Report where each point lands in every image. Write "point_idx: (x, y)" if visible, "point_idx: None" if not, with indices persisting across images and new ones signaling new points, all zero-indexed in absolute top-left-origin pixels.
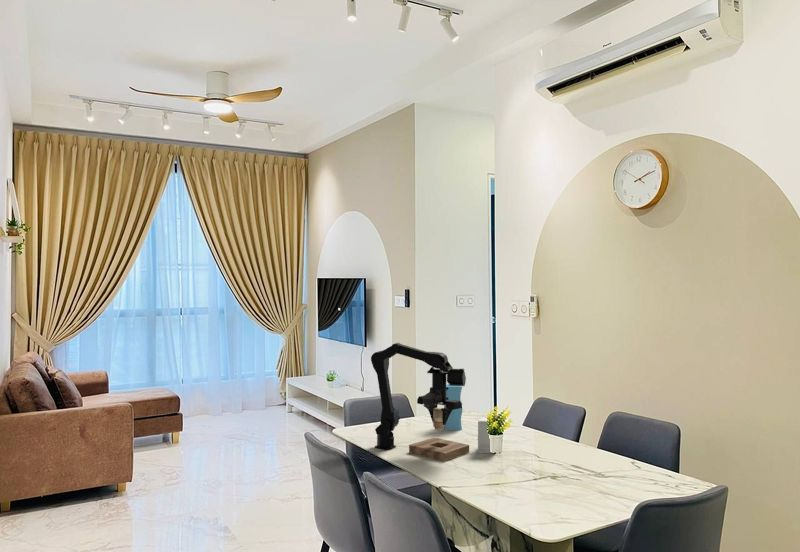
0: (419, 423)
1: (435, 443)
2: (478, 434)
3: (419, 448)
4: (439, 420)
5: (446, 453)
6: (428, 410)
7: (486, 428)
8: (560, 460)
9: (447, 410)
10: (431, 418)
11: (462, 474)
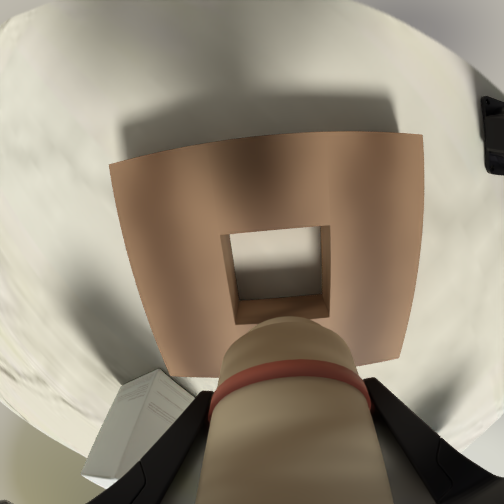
0: (488, 408)
1: (329, 294)
2: (132, 426)
3: (333, 131)
4: (226, 413)
5: (112, 176)
6: (486, 471)
7: (104, 451)
8: (38, 395)
9: (5, 501)
10: (407, 407)
11: (7, 114)
